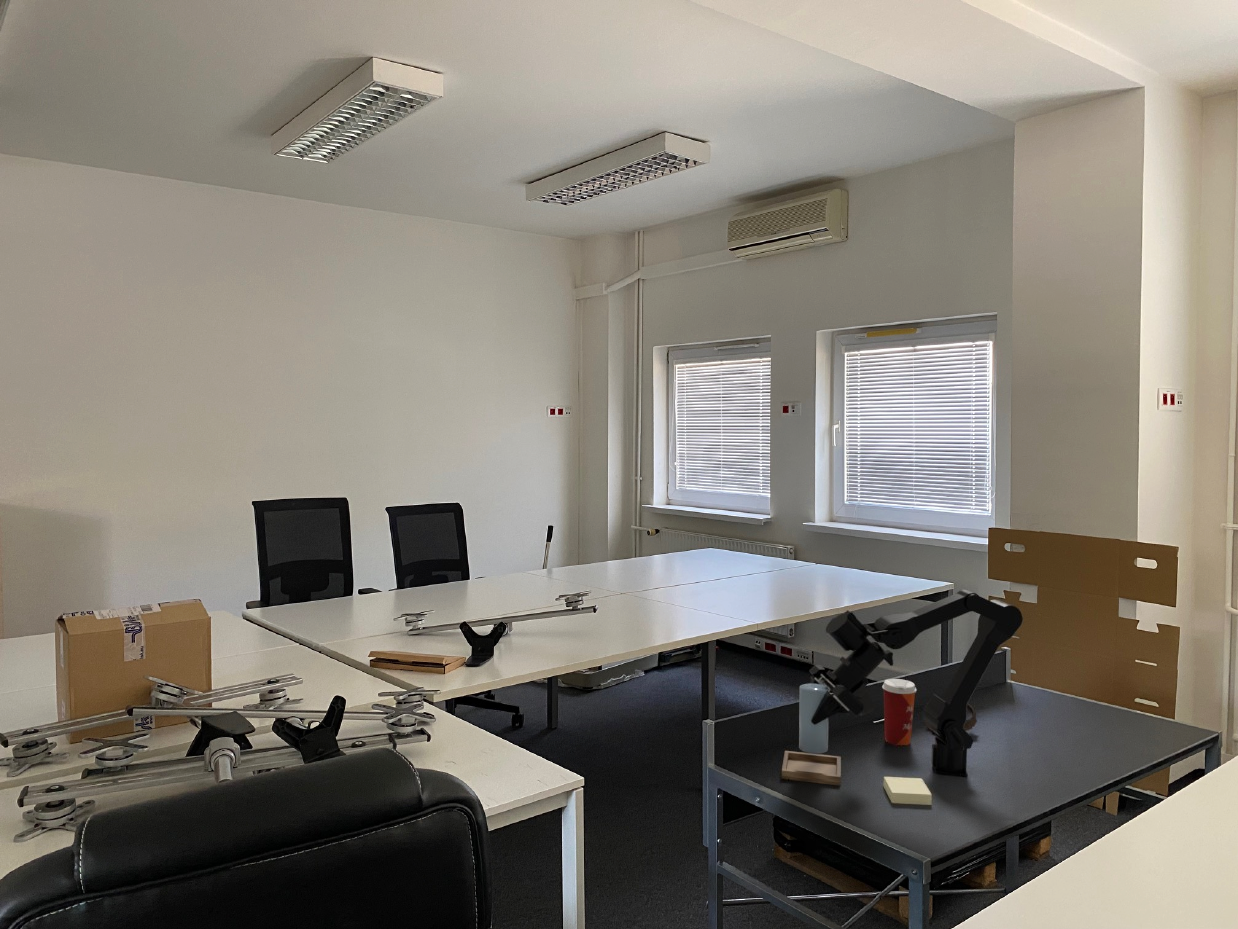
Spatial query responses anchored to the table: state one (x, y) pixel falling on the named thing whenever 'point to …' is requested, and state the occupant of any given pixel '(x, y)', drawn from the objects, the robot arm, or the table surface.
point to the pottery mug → (972, 720)
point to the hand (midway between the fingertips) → (807, 717)
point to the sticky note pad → (907, 790)
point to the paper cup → (898, 710)
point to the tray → (812, 768)
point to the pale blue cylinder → (810, 734)
